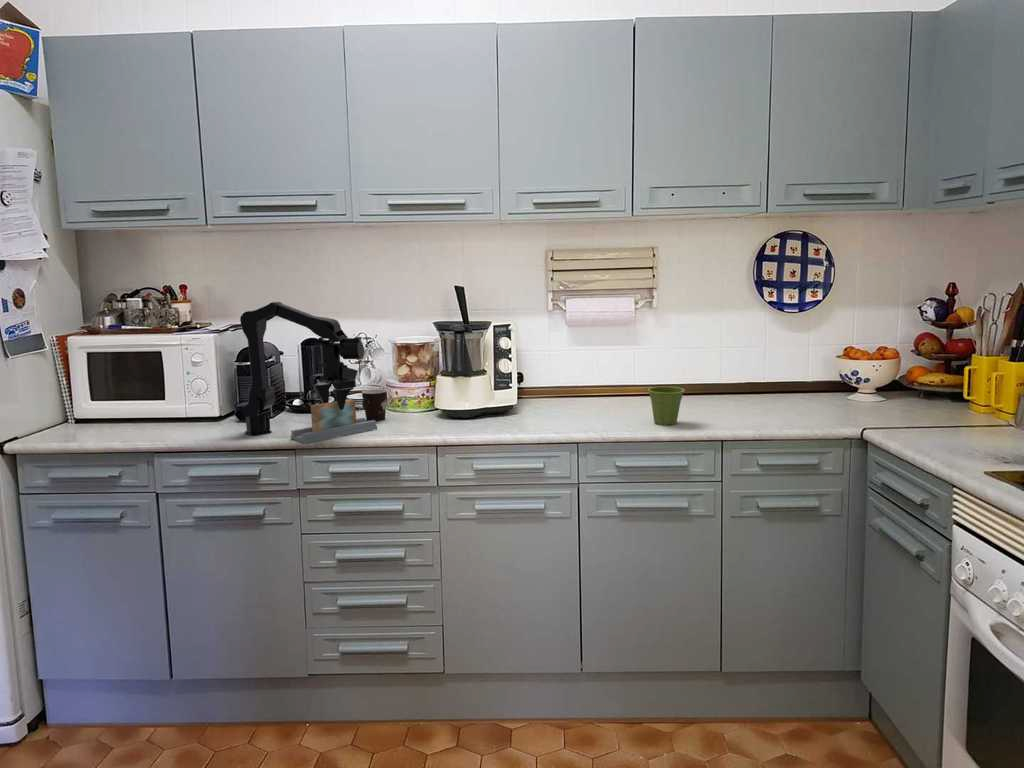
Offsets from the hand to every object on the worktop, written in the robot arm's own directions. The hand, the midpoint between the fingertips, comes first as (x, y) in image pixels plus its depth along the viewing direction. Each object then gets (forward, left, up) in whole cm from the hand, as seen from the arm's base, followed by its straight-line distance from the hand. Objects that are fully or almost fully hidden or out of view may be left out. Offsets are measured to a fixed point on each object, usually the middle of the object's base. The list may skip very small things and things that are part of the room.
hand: (334, 407), depth 246 cm
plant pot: (+81, -70, -9) cm, 107 cm away
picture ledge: (0, 0, -8) cm, 9 cm away
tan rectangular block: (0, 0, -7) cm, 7 cm away
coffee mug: (+20, +9, -9) cm, 24 cm away
